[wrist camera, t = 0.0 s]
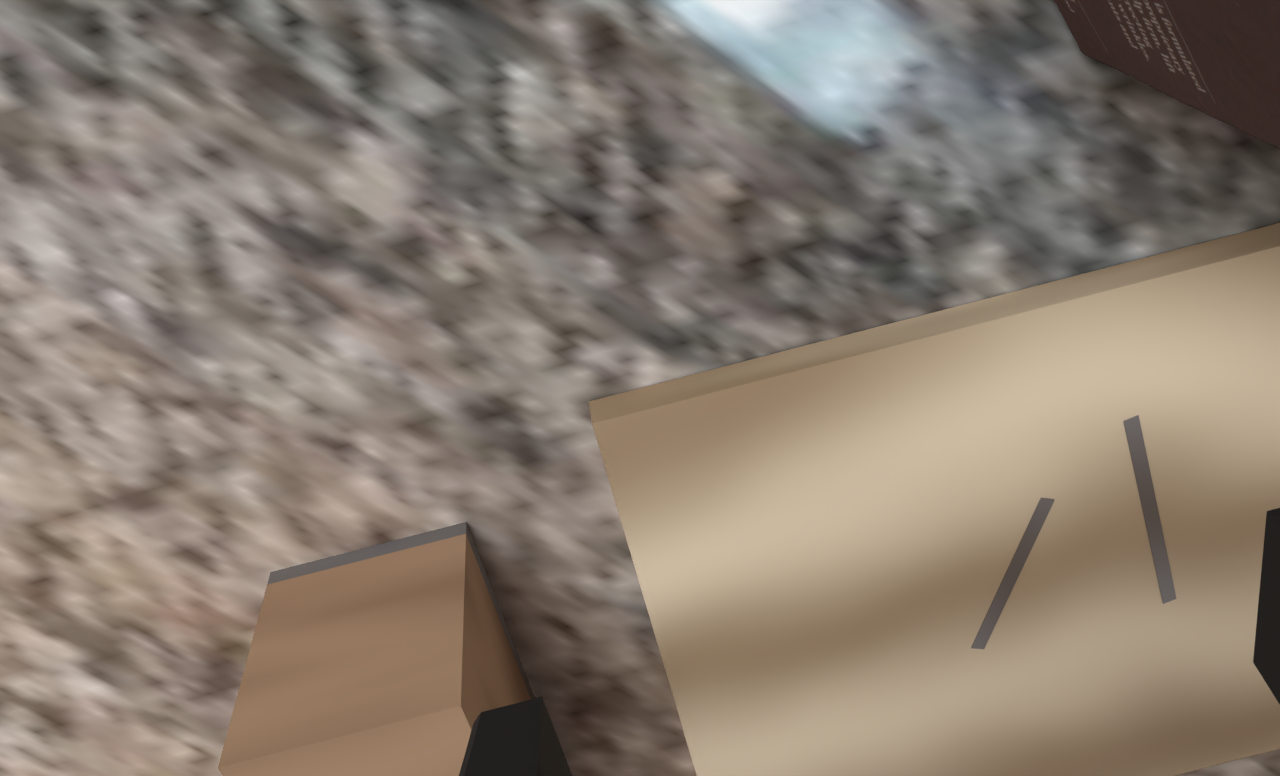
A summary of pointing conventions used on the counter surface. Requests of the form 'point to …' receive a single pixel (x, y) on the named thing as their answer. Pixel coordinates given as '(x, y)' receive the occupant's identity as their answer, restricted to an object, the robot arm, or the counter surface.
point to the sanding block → (374, 663)
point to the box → (1192, 53)
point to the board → (973, 531)
